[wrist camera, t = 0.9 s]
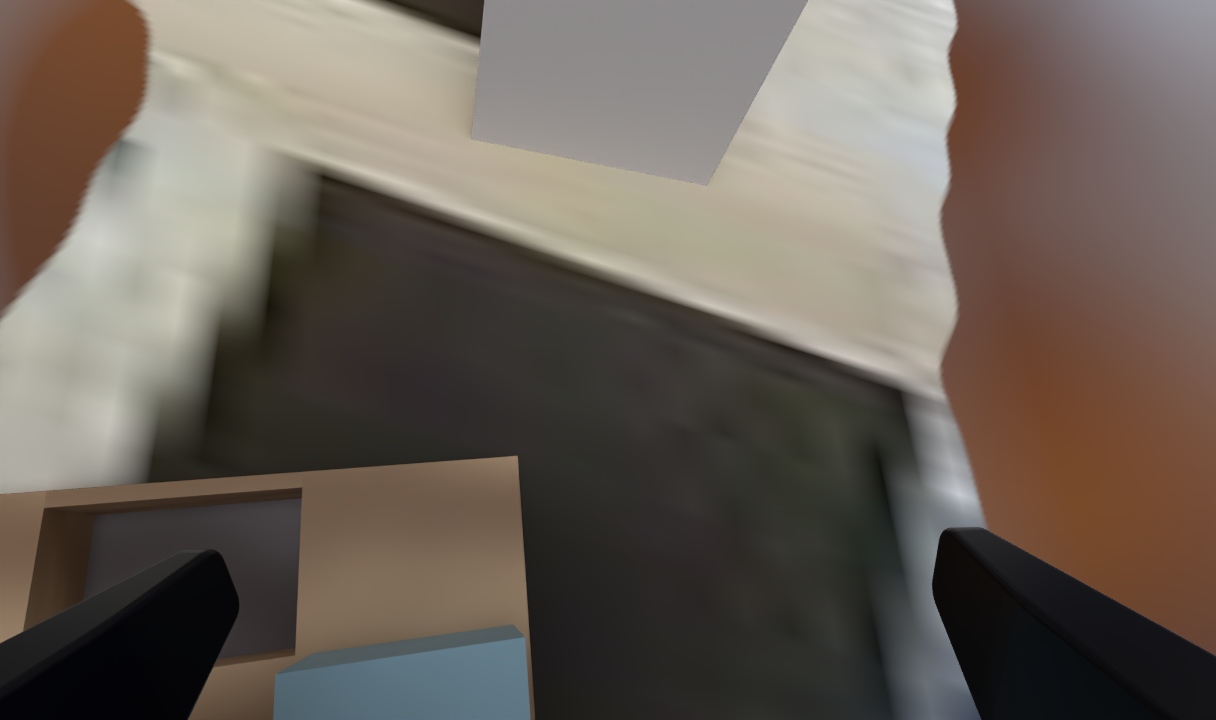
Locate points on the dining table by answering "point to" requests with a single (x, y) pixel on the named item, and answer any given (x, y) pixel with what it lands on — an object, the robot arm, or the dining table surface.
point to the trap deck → (287, 559)
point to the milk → (626, 78)
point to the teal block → (411, 680)
